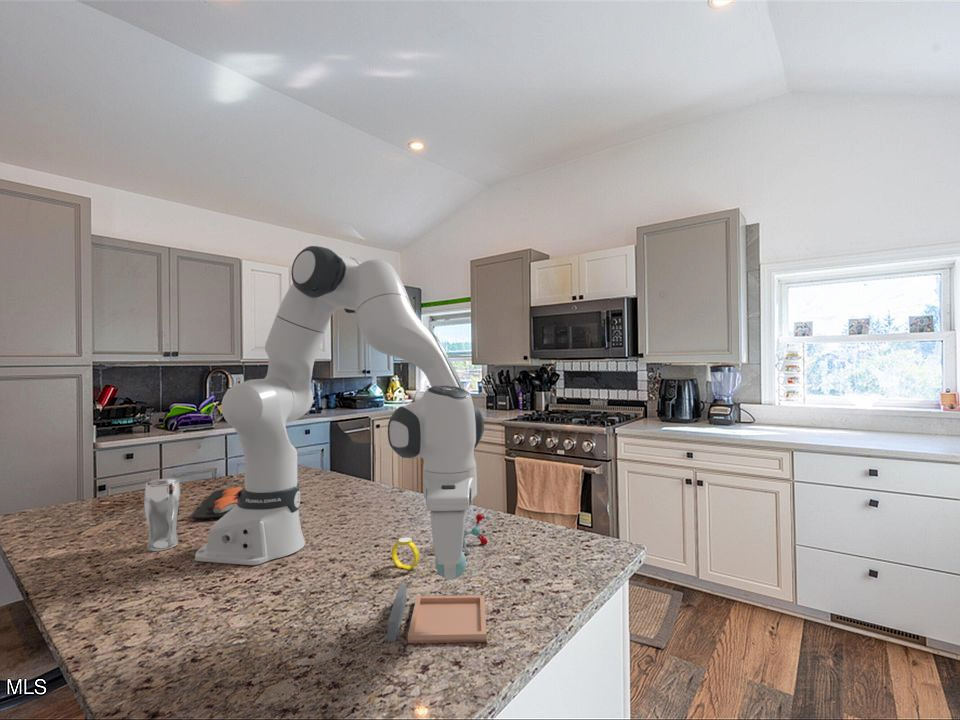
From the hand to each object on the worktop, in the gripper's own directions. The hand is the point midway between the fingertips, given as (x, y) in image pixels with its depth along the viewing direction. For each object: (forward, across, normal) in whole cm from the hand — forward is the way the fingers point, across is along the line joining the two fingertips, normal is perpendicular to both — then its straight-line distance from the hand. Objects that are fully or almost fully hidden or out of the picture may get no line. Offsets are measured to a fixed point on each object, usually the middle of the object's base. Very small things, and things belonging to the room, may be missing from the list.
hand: (451, 568), depth 78 cm
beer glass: (+8, -34, -68) cm, 77 cm away
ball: (+2, 0, 0) cm, 2 cm away
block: (+8, 0, -9) cm, 12 cm away
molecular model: (+9, -31, +2) cm, 33 cm away
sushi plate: (+9, -68, -61) cm, 91 cm away
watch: (+9, -20, -10) cm, 24 cm away
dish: (+8, 0, 0) cm, 9 cm away
